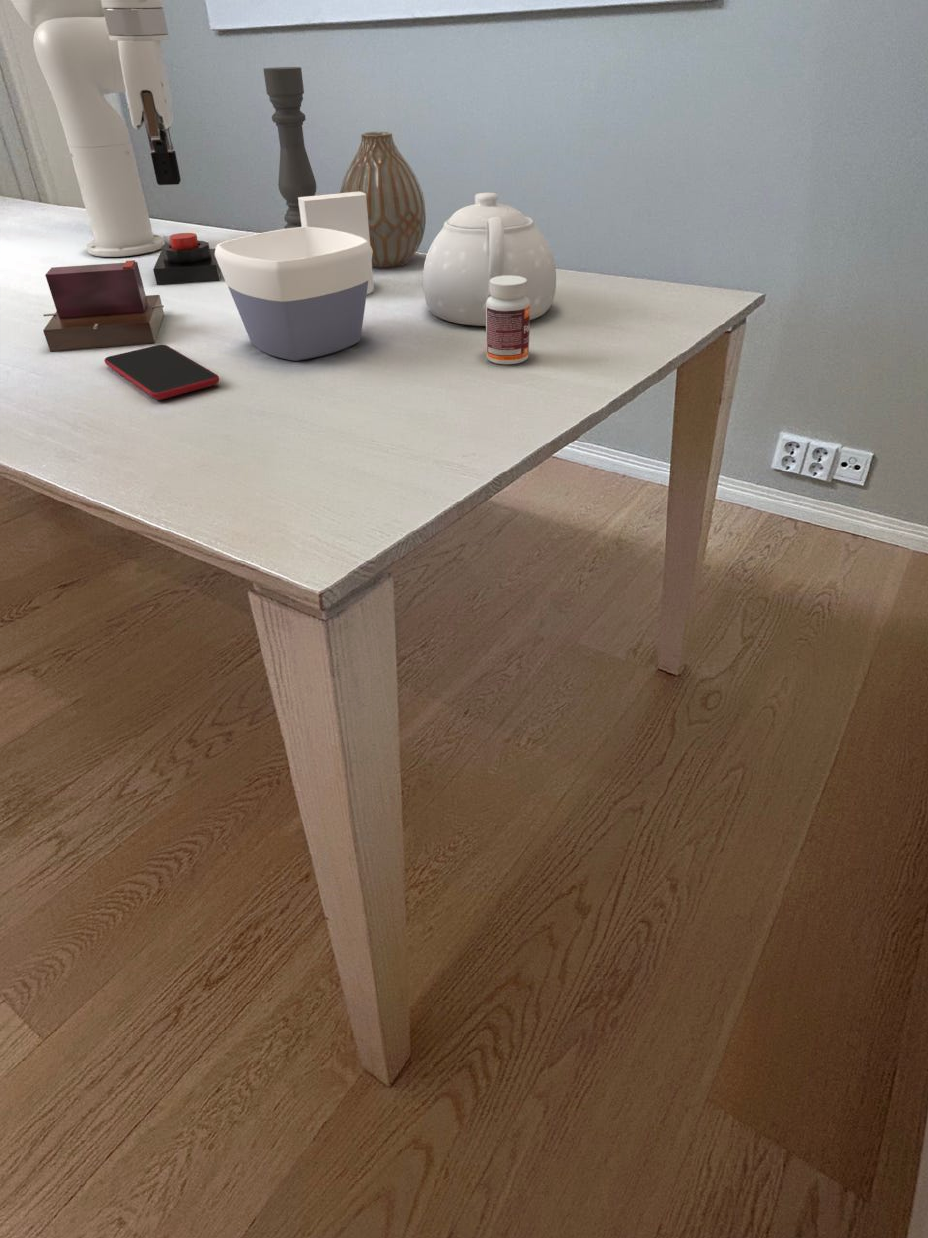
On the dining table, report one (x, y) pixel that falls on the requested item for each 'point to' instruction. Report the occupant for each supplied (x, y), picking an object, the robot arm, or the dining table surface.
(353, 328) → the bowl
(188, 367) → the smartphone
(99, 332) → the panel
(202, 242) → the button block
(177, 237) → the button
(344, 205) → the base with upright slab
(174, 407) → the dining table surface
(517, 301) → the pill bottle
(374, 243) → the vase
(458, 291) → the teapot
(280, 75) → the candle holder
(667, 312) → the dining table surface
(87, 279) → the bar
